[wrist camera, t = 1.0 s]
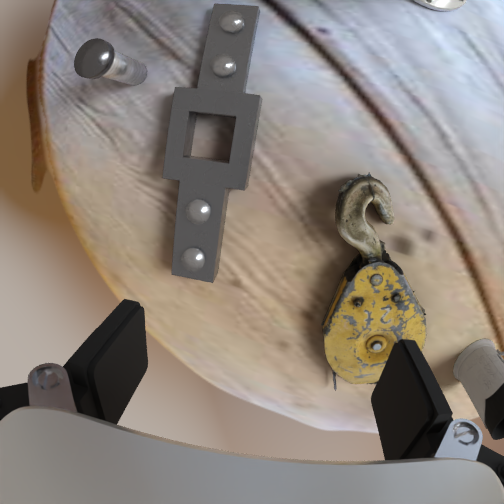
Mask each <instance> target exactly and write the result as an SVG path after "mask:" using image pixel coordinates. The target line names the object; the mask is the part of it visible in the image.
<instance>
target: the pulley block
mask: <svg viewBox="0 0 504 504" xmlns="http://www.w3.org/2000/svg"><path fill="white" fill-rule="evenodd" d="M338 191H340V193H339V197H338V200H337V203H336V209H335V219H336V226H337V229H338V232H339V234H340V235H341V236H342V237H343V238H344V240H345V241H346V242H347V243H349V244H350V245H352V246H354V247H355V248H357V249H358V250H359V252H360V254H359V255H358V256H357V257H356V258H355V259H354V260H353V262H352V263H351V265H350V266H349V268H348V269H347V270H346V272H345V273H344V275H343V277H342V279H341V281H340V283H339V286H338V288H337V291H336V293H335V295H334V298H333V300H332V302H331V305H330V307H329V310H328V312H327V314H326V316H325V319H324V321H323V322H322V324H321V325H323V335H324V351H325V355H326V359H327V361H328V363H329V364H330V366H331V368H332V370H333V381H334V389H335V391H336V379H335V377H336V374H338V375H339V376H340V377H341V378H343V379H344V380H345V381H347V382H349V383H351V384H363V383H367V384H368V383H369V384H377V382H378V380H379V378H380V376H381V373H382V371H383V369H384V367H385V364H386V362H387V359H388V357H389V355H390V352H391V350H392V347H393V345H394V344H395V343H396V342H397V343H398V341H399V340H400V339H409V340H415V341H416V343H417V345H418V346H419V348H420V350H421V352H422V350H423V348H424V345H425V339H426V319H425V317H424V315H426V314H425V310H424V309H423V307H422V306H421V305H420V304H419V302H418V300H417V298H416V296H415V294H414V292H415V291H412V289H411V287H410V284H409V282H408V280H407V278H406V276H405V275H404V273H403V271H402V269H401V268H400V267H399V266H398V265H397V264H396V263H395V262H393V261H392V260H391V259H390V257H389V254H388V253H386V250H384V249H385V243H384V242H382V241H380V240H379V238H378V236H377V234H376V232H375V230H374V228H373V226H372V225H371V224H370V223H369V222H368V221H367V220H366V218H365V209H366V207H367V205H368V203H369V202H371V203H372V204H373V205H374V206H375V209H376V211H377V213H378V215H379V216H380V218H381V219H382V221H383V222H384V223H385V224H393V222H394V214H393V207H392V202H391V198H390V194H389V192H388V189H387V188H386V187H385V186H384V185H383V184H382V182H381V181H379V180H377V179H375V178H373V177H372V176H371V175H370V173H369V174H368V175H360V174H358V177H357V178H355V179H354V180H349V181H347V182H346V183H345V185H343V186H341V189H340V190H338Z"/></svg>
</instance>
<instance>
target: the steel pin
mask: <svg viewBox="0 0 504 504" xmlns="http://www.w3.org/2000/svg"><path fill="white" fill-rule="evenodd" d="M74 67H75V71H76V73H77V74H78V75H79V76H81V77H85V78H89V79H97V78H99V77H105V78H108V79H112V80H116V81H119V82H122V83H126V84H129V85H133V86H135V85H139V84H141V83H142V82H143V81H144V80H145V78H146V76H147V68H146V66H145V65H144V64H142V63H140V62H138V61H136V60H134V59H132V58H130V57H128V56H125V55H123V54H121V53H119V52H116V51H114V48H113V46H112V45H111V44H110V43H108V42H106V41H104V40H102V39H98V38H96V39H91V40H89V41H87V42H86V43H84V44H83V45H82V46H81V47H80V49H79V50H78V52H77V54H76V56H75V60H74Z"/></svg>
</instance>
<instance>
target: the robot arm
mask: <svg viewBox="0 0 504 504" xmlns="http://www.w3.org/2000/svg"><path fill="white" fill-rule="evenodd" d="M414 1H415V2H417V3H419V4H421V5H423V6H425V7H427V8H430V9H434V10H438V11H453V10H456V9H458V8H460V7H461V6H463V5H464V4H465V3H466V1H467V0H414ZM147 367H148V357H147V345H146V331H145V315H144V308H143V307H141V306H140V303H139V302H136V301H132V300H127V299H124V300H123V301H122V302H121V303H120V304H119V305H118V306H117V307H116V308H115V309H114V310H113V312H112V313H111V314H110V315H109V316H108V317H107V318H106V319H105V320H104V321H103V323H102V324H101V325H100V326H99V327H98V328H97V329H95V331H94V332H93V333H92V334H91V335H90V336H89V337H88V338H87V340H86V341H85V342H84V343H83V344H82V345H81V346H80V347H79V349H78V350H77V351H76V352H75V353H74V354H73V356H72V357H71V358H70V359H69V360H68V361H67V362H66V364H65V365H64V366H63V367H62V366H60V365H58V364H54V363H45V364H41V365H39V366H37V367H35V368H34V369H33V370H32V371H31V372H30V373H29V375H28V383H23V384H17V385H12V386H7V387H2V388H0V504H504V456H502V455H500V454H498V453H496V452H494V451H492V450H491V449H489V448H487V447H485V446H484V445H482V444H481V443H482V437H483V436H482V432H481V430H480V428H479V427H478V426H477V425H476V424H475V423H473V422H472V421H470V420H467V419H456V420H454V421H453V418H452V414H453V413H452V411H451V409H450V407H449V405H448V402H447V400H446V398H445V396H444V394H443V392H442V390H441V388H440V386H439V384H438V382H437V380H436V378H435V376H434V374H433V373H432V371H431V369H430V367H429V365H428V363H427V361H426V359H425V357H424V356H423V354H422V352H421V350H420V348H419V346H418V345H417V343H416V341H415V340H409V339H400V340H399V341H398V343H397V342H396V343H395V344H394V345H393V347H392V350H391V352H390V355H389V357H388V359H387V362H386V364H385V367H384V369H383V371H382V373H381V376H380V378H379V380H378V382H377V384H376V387H375V389H374V391H373V393H372V396H371V403H372V407H373V411H374V415H375V419H376V423H377V427H378V431H379V436H380V440H381V444H382V448H383V453H384V457H385V460H383V461H315V460H298V459H285V458H274V457H265V456H257V455H249V454H242V453H235V452H229V451H223V450H217V449H211V448H206V447H201V446H196V445H192V444H187V443H183V442H178V441H174V440H170V439H166V438H162V437H158V436H154V435H151V434H147V433H143V432H140V431H136V430H132V429H129V428H126V427H123V426H119V425H117V423H118V421H119V419H120V417H121V416H122V414H123V412H124V410H125V408H126V407H127V405H128V403H129V401H130V399H131V397H132V395H133V394H134V392H135V390H136V388H137V387H138V385H139V383H140V381H141V379H142V378H143V376H144V374H145V372H146V370H147Z"/></svg>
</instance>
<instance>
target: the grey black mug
mask: <svg viewBox="0 0 504 504" xmlns="http://www.w3.org/2000/svg"><path fill="white" fill-rule="evenodd" d="M500 355H504V352H500V351H499V350H497V351H496V349H495V345H494V343H493V341H491V340H489V339H481V340H478V341H475V342H474V343H472V344H470V345H469V346H468V347H467V348H465V349H464V350H463V351H462V353H461V354H460V355H459V357H458V358H457V360H456V362H455V364H454V368H453V374H454V376H455V378H456V379H458V380H460V381H461V383H462V385H463V387H464V388H465V390H466V392H467V394H468V395H469V397H470V399H471V401H472V403H473V404H474V406H475V408H476V410H477V412H478V414H479V416H480V418H481V419H482V421H483V423H484V425H485V427H486V429H488V431H489V432H490V434H491V436H492V438H493V439H495V440H498V439H502V438H504V360H503V359H502V357H501V356H500Z"/></svg>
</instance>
